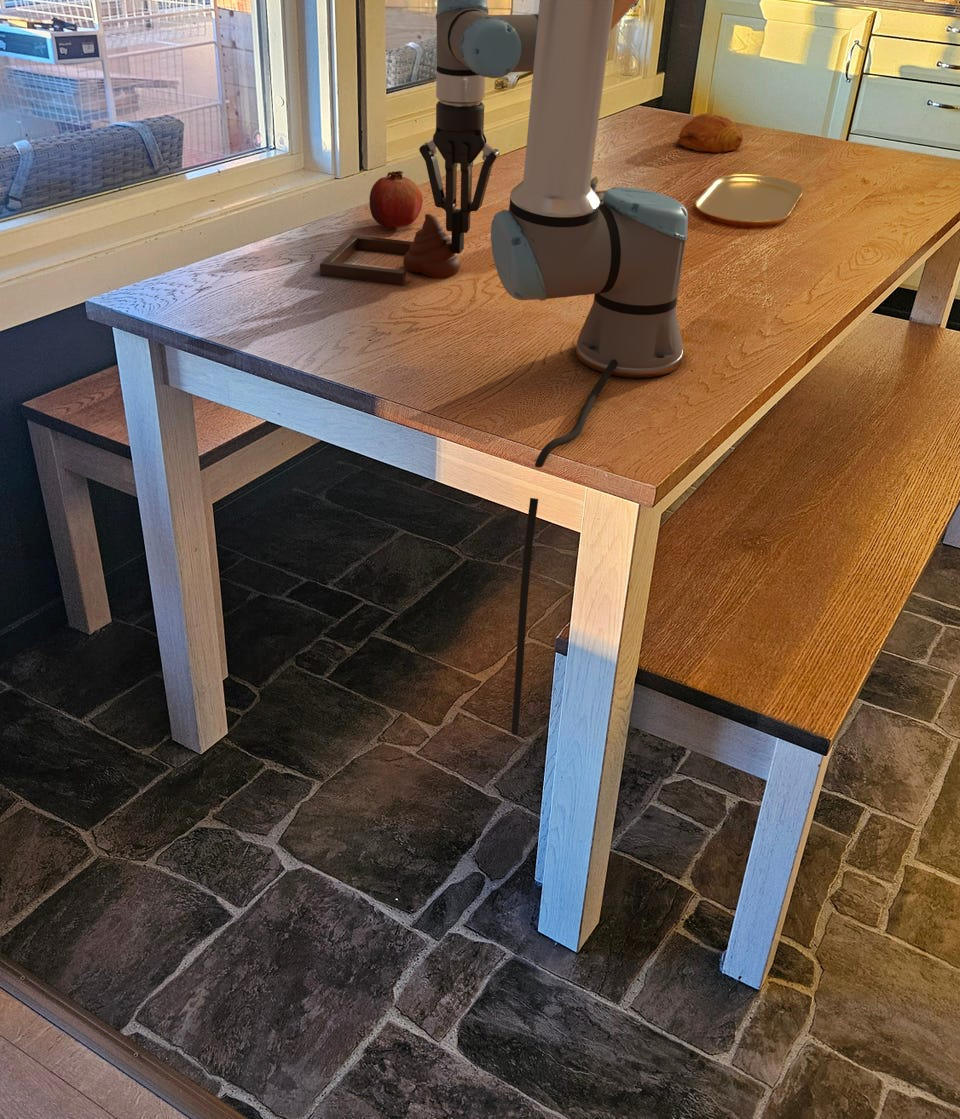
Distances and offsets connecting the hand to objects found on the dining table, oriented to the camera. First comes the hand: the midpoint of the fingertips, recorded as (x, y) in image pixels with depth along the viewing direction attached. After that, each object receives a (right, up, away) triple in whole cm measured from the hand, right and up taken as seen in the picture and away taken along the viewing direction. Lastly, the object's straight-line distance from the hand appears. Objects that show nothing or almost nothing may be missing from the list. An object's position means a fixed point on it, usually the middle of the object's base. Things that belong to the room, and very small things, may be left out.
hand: (457, 250), depth 182 cm
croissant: (+59, +48, +81) cm, 111 cm away
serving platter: (+59, +22, +42) cm, 76 cm away
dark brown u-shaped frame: (-14, -1, +5) cm, 15 cm away
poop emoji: (-4, -2, +4) cm, 6 cm away
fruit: (-12, +11, +22) cm, 27 cm away
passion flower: (+24, +10, +23) cm, 35 cm away
